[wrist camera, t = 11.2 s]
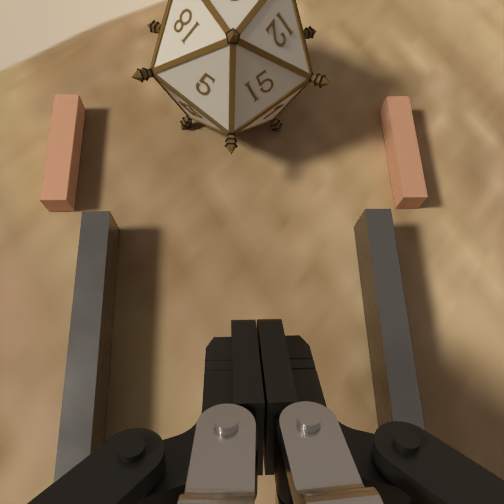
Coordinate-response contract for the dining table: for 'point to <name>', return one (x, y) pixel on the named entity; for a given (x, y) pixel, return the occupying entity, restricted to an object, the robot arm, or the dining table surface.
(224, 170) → the dining table surface
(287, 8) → the game die
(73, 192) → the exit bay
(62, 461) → the chute
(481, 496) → the robot arm
